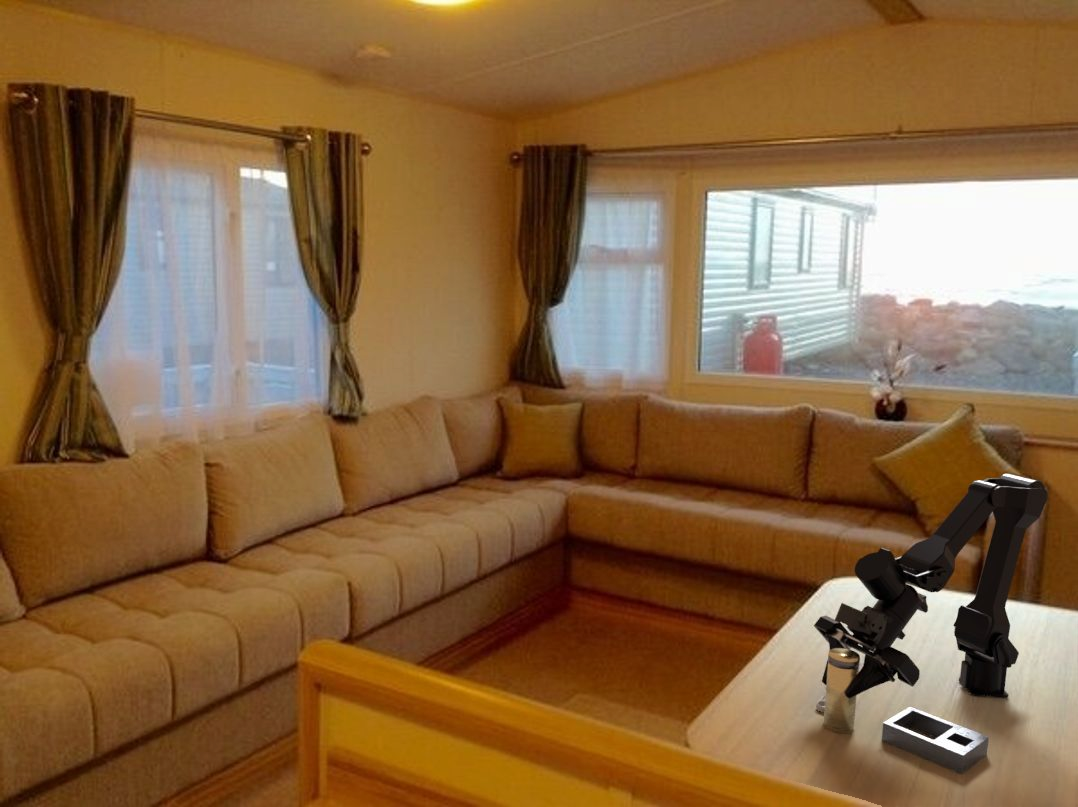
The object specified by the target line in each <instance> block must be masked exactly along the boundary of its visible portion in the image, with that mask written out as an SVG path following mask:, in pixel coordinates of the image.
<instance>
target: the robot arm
mask: <svg viewBox="0 0 1078 807" xmlns="http://www.w3.org/2000/svg"><path fill="white" fill-rule="evenodd" d="M967 489H968V490H967V493H966V494H964V496H963V497H962V499H961V500H960V501H959V502H958V504H957V505H956V506H955V507H954V508H953V510H952V511H951V512H950V513H949V514H948V515H947V517H946V518H945V519H944V521H943V522H942V523H941V524H940V525H939V526H938V528H936V530H934V532H933V534H932V535H930V536H929V537H928V538H926V539H923V540H921V541H918V542H916V543H914V544H913V545H912V546H911V547H909V549H908V550H906V551H905V552H904V553H903V554H902V555H901V556H899V557H895V555H894V553H893V552H892V551H891V550H889V549H886V548H884V547H880V548H879V549H878V550H877V551H876V552H871V553H868V554H866V555H863V557H860V558H859V559H858V560H857V562H856V564H855V566H854V574H855V576H856V578H858V580H859V581H860V582H861V583H862V585H863V586H864V587H865V588H866V590H867V591H868V592H869V593H870V594H871V596H872V597H873V598H874V599H876V600H877V601H876V603H875V604H874V605H873V606H869V605H866V606H865V607H864V608H862V610H860V609H857V608H855V607H852V606H851V605H848V604H847V603H844V602H841V603H840V606H839V609H838V611H837V613H836V616H835V618H833V617H830V616H828V615H823V616H819V618H817V620H816V622H815V624H813V627H815V629H816V630H817V631H818V633H819V634H820V635H821V636H822V637H823V638H824V639H825V641H826V642H827V643H828V645H829V646H828V648H829V650H831V649H834V648H844V649H849V650H852V649H854V651H856V652H857V651H858V652H860V653H862V654H863V655H864V659H863V661H864V662H863V664H864V665H863V667H862V669H861V670H860V672H859V673H858V674H857V676H856V677H855V679H854V680H853V681H852V683H851V684H850V686H849V687H848V689H847V691H846V693H845V695H846V697H847V698H852V697H854V696H856V695H860V694H861V693H863V692H866V691H868V690H870V689H871V688H875V687H877V686H879V685H881V684H885V683H888V682H892V683H894V682H895V681H896V678H895V676H896V675H897V679H898V680H899V681H900V682H903V683H904V684H907V685H909V686H910V687H914V686H915V685H916V684H917V682H918V681H919V679H920V674H921V672H920V669H919V668H918V666H917V665H916V664H915V662H914V661H913V660H912V659H911V658H910V656H909V655H908V654H906V653H905V652H903V651H901V650H900V649H899V650H898V649H896V648H895V647H892V645H893V644H894V643H895V641H896V640H897V639H899V640H901V641H902V640H903V639H904V638H905V637H906V634H905V632H904V631H903V630H904V629H905V627H907V624H908V623H909V622H910V620H911V619H912V618H913V616H914V615H915V613H916V612H917V610H918V611H921V612H922V613H928V611H929V609H928V608H929V606H928V602H927V595H924V594H922V593H920V592H919V591H917V590H916V588H919V589H921V590H924V591H926V592H929V593H939V592H941V591H942V590H943V589H944V588H945V587H946V585H947V583H948V582H949V580H950V579H951V578H952V576H953V574H954V572H955V569H956V558H957V556H958V555H959V553H960V552H961V551H962V550H963V549H964V547H965V546H966V545H967V543H968V542H969V541H970V539H972V537H973V536H974V535H975V534H976V532H977V531H978V530H979V529H980V527H981V526H982V525H983V524H984V523H985V522H986V520H987V519H988V518H989V517H990V515H991V514H993V518H994V526H993V529H992V534H991V537H990V541H989V545H988V548H987V552H986V556H985V559H984V564H983V567H982V570H981V574H980V578H979V582H978V586H977V589H976V593H975V596H974V599H972V600H971V601H970V602H969V603H968V604H967V605H959V608H958V610H957V616H956V619H955V621H954V623H953V627H954V631H953V634H954V637H955V640H956V646H957V650H958V651H961V652H963V653H964V660H961V664H960V665H961V666H960V675H959V677H958V681H959V683H960V684H961V685H962V686H963V687H964V688H965V690H967V692H968V693H969V694H970V695H971V696H972V697H973V696H974V697H976V696H977V697H988V698H989V697H992V698H1009V693H1008V692H1007V691H1006V689H1005V688H1006V680H1007V679H1006V678H1007V672H1008V668H1009V669H1010V668H1012V665H1015V664H1016V663H1017V660H1018V657H1019V654H1020V653H1019V651H1018V649H1017V648H1016V647H1015V646H1014V643H1013V642H1011V640H1010V638H1009V637H1010V632H1011V631H1010V630H1011V624H1010V620H1009V617H1008V613H1007V609H1006V604H1007V602H1008V598H1009V594H1010V590H1011V587H1012V584H1013V583H1012V582H1013V578H1014V575H1015V572H1016V567H1017V564H1018V560H1019V557H1020V553H1021V550H1022V549H1021V548H1022V546H1023V542H1024V538H1025V534H1026V532H1027V529H1029V528H1030V527H1031V526H1032V525H1033V524H1035V522H1036V521H1037V520H1039V519H1040V517H1041V515H1042V512H1043V510H1044V507H1045V505H1046V503H1047V501H1048V496H1049V495H1048V490H1047V489H1046V488H1045V485H1044V484H1043V482H1042V481H1040V480H1037V479H1034V478H1028V477H1025V476H1020V475H1016V474H1013V473H1004V474H1002V475H1000V477H990V478H989V477H987V478H985V479H984V480H974V481H973V482H972V483H970V485H969V486H968V488H967ZM913 586H914V587H913ZM915 587H916V588H915ZM843 624H844V625H845V626H846V627H845V626H844V625H843ZM847 629H848V630H847ZM849 631H850V632H851V633H852V634H851V633H850V632H849ZM827 670H828V659H827V661H826V664H825V669H824V672H823V676H822V679H821V682H822V683H823V685H825V686H826V683H827Z"/></svg>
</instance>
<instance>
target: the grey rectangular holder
mask: <svg viewBox="0 0 1078 807" xmlns="http://www.w3.org/2000/svg"><path fill="white" fill-rule="evenodd" d="M910 729H914V730H916V731H919V732H921V733H923V734H926V735H928V736H931V737H932V738H930V737H927V736H925V735H922V734H920V733H917V732H914V731H913V730H910ZM881 733H882V734H881V741H883V742H884V743H887V744H889V745H892V746H894V747H896V748H898V749H901V750H904V751H906V752H908V753H910V754H913V755H915V756H918V757H920V758H922V759H925V760H927V761H930V762H932V763H934V764H936V765H940V766H941V767H944V768H946V769H948V770H951V771H953V772H954V773H955V772H956V773H958V774H960V775H962V774H964V773H965V772H967V770H969V769H970V768H972V767H973V766H975V765H976V764H977V763H978V762H980V761H981V760H983V759H984V758H985V757H986V756H988V755H987V754H988V748H989V746H988V745H989V740H990V739H989V738H990V737H989V736H987V735H984V734H981V733H979V732H977V731H974V730H972V729H968V728H966V727H965V726H961V725H958V724H956V723H954V722H951V721H948V720H945V719H943V718H941V717H938V716H934V714H933V715H932V714H930V713H927V712H925V711H922V710H920V709H917V708H914V707H912V706H909V707H907V708H905V709H904V710H902V711H901V712H898V713H897V714H895V715H894V716H892V717H890V718H889V719H887V720H885V721H883V723H882V732H881ZM933 738H935V739H933Z"/></svg>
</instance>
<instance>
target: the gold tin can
mask: <svg viewBox="0 0 1078 807" xmlns="http://www.w3.org/2000/svg"><path fill="white" fill-rule="evenodd" d="M827 657H828V658H827V660H828V670H827V683H826V685H825V686H826V687H825V692H826V696H825V708H824V713H823V721H822V722H823V724H822V725H823V726H824V727H825V729H827V730H829V731H830V732H834V733H837V734H849V733H852V732H853V731H854V730H855V719H856V708H857V695H856V696H854V697H852V698H847V697H846V695H845V693H846V691H847V689H848V687H849V686H850V684H851V683H852V681H853V680H854V679H855V677H856V676H857V674H858V673H859V665H860V661H861V658H860V657H861V656H860V654H859V653H858V652H857V651H856V650H852V649H850V650H849V649H844V648H834V649H831V650H830V649H829V650H828V654H827Z"/></svg>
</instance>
